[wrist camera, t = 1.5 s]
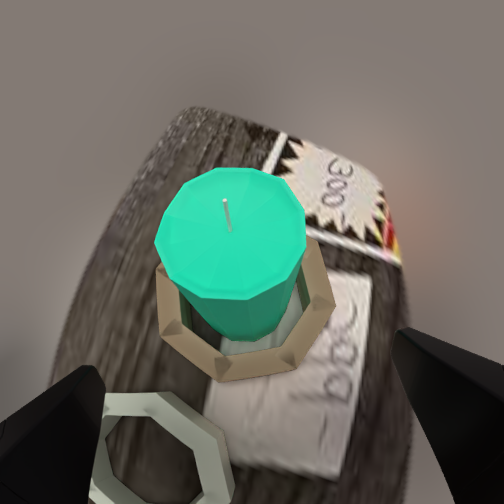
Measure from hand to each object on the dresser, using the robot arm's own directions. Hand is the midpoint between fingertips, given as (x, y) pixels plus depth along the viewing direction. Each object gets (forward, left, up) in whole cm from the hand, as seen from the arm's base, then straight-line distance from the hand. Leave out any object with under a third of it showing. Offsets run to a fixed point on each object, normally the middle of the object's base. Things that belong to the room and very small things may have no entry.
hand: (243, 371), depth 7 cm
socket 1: (+2, +10, -12) cm, 16 cm away
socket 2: (+4, -4, -12) cm, 13 cm away
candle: (+4, -4, -12) cm, 13 cm away
